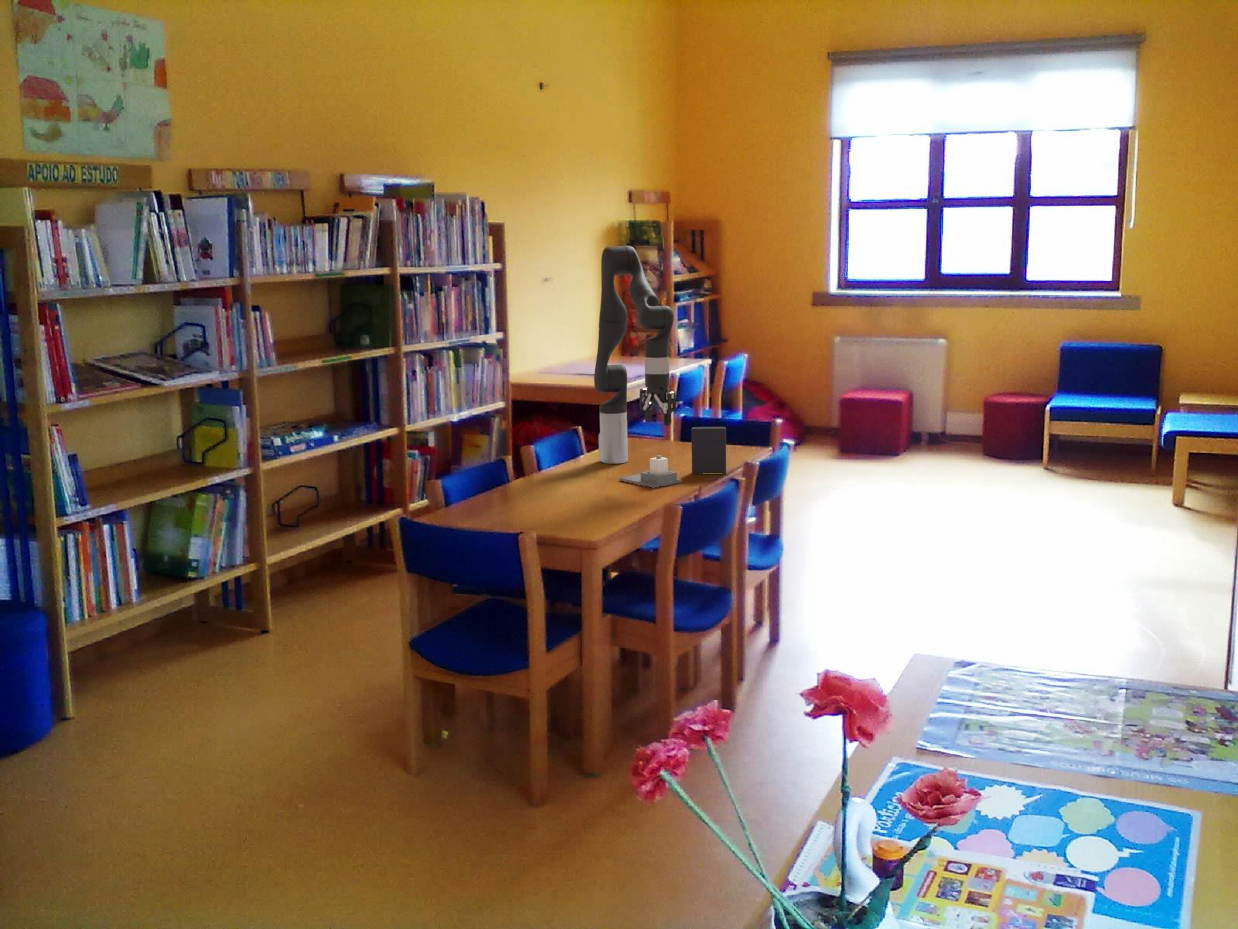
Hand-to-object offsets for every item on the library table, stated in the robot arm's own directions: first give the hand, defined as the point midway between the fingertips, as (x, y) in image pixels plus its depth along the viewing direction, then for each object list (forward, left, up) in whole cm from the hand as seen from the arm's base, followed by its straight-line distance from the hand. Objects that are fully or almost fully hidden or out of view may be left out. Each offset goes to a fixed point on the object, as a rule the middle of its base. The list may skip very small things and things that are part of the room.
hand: (657, 423), depth 370 cm
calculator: (0, +22, -19) cm, 29 cm away
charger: (0, 0, -18) cm, 18 cm away
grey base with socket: (-4, 0, -19) cm, 19 cm away
